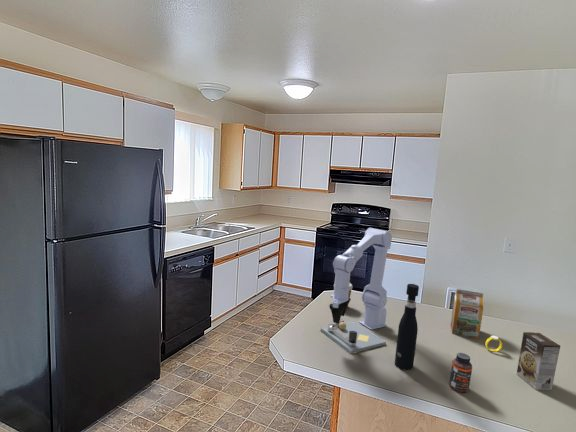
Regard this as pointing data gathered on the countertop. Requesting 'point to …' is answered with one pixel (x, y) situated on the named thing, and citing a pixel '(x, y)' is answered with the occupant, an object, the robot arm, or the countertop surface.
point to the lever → (344, 335)
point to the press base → (363, 337)
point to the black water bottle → (407, 332)
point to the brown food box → (538, 360)
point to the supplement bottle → (460, 373)
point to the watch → (493, 339)
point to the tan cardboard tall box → (467, 313)
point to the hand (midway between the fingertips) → (338, 319)
